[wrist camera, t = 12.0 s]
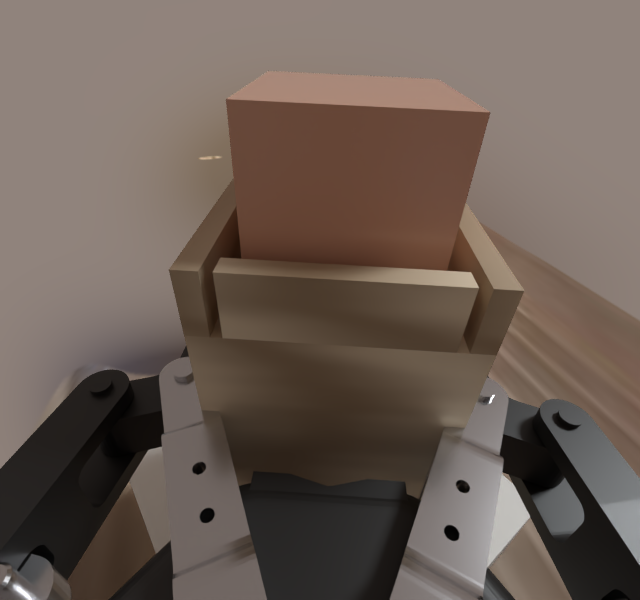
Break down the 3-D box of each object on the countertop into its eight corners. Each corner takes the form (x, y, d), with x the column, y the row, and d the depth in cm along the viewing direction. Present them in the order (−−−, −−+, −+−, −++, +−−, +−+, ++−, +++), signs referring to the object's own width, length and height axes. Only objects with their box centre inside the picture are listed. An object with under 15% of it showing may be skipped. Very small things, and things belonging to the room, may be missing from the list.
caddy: (390, 418, 18) (447, 174, 11) (406, 564, 13) (523, 291, 6) (263, 409, 18) (243, 163, 11) (233, 551, 13) (169, 269, 7)
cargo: (408, 233, 11) (438, 79, 9) (433, 318, 8) (489, 113, 6) (274, 226, 11) (268, 71, 9) (246, 307, 8) (226, 99, 6)
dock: (341, 383, 26) (346, 338, 23) (506, 547, 18) (538, 506, 16) (141, 498, 19) (119, 454, 17) (266, 831, 12) (259, 836, 9)
